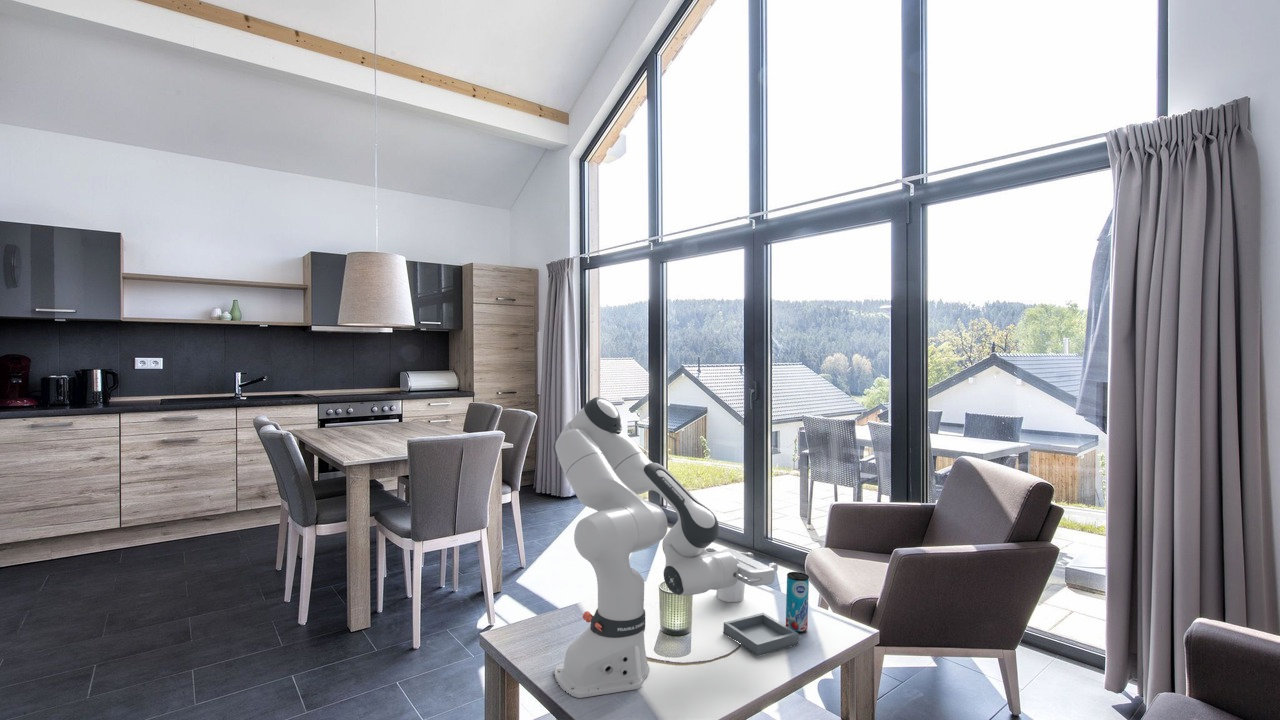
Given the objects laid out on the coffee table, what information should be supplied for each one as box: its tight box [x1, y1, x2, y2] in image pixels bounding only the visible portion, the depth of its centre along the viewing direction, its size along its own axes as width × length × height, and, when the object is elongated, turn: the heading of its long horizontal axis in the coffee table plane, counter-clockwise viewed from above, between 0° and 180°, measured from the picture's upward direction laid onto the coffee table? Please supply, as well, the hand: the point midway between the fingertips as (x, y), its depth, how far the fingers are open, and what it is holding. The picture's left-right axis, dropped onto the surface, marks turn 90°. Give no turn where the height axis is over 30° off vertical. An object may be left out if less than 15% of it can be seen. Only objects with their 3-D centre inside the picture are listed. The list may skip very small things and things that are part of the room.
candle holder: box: [716, 580, 746, 603], centre depth 191 cm, size 10×10×12 cm
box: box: [722, 612, 800, 657], centre depth 163 cm, size 14×14×3 cm
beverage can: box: [785, 571, 810, 634], centre depth 170 cm, size 6×6×15 cm
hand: (763, 561), depth 164 cm, fingers open, 8 cm apart
